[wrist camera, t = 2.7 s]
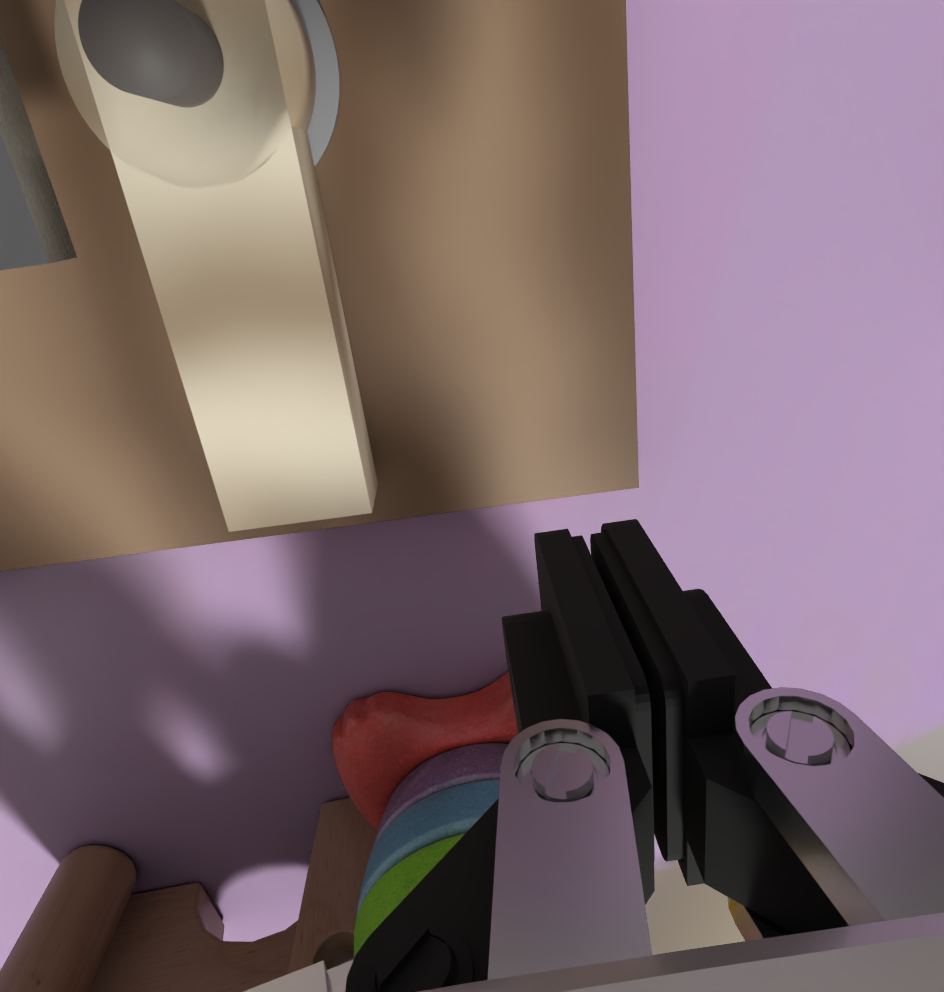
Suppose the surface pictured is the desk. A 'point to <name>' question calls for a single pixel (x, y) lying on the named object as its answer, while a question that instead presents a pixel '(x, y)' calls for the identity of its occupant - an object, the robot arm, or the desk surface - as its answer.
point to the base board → (354, 282)
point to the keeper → (25, 188)
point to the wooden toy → (184, 924)
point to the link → (232, 238)
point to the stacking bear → (419, 782)
